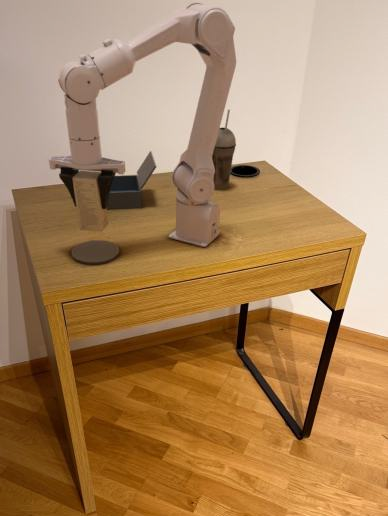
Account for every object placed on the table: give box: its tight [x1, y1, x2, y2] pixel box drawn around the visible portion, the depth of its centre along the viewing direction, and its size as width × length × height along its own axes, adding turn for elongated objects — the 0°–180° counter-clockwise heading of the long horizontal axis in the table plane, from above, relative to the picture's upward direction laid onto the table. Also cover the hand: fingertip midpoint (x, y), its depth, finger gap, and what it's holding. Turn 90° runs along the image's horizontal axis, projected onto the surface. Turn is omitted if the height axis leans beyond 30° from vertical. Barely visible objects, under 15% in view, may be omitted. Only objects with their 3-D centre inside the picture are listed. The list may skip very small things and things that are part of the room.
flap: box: [136, 150, 157, 190], centre depth 125 cm, size 7×12×1 cm
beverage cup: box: [212, 109, 237, 191], centre depth 132 cm, size 7×7×20 cm
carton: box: [107, 174, 143, 210], centre depth 127 cm, size 14×12×4 cm
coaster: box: [71, 239, 120, 266], centre depth 106 cm, size 10×10×1 cm
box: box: [72, 170, 109, 233], centre depth 100 cm, size 5×4×11 cm
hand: (91, 206), depth 100 cm, fingers closed on box, 5 cm apart
